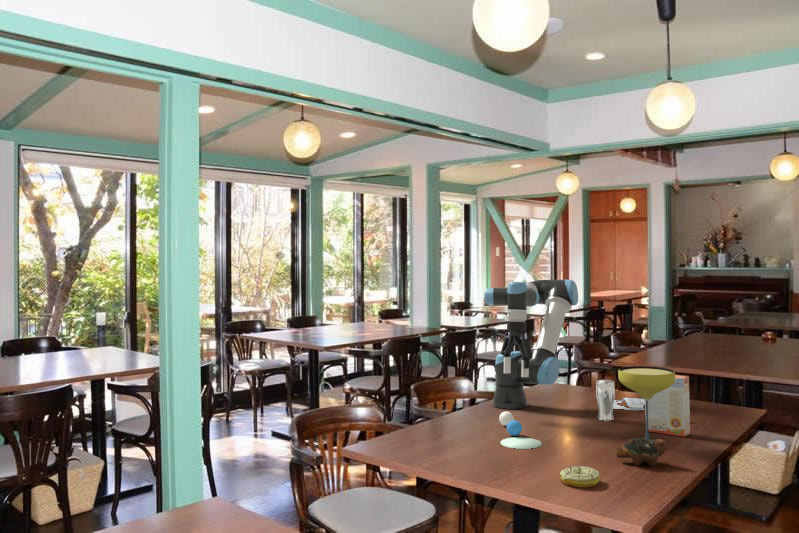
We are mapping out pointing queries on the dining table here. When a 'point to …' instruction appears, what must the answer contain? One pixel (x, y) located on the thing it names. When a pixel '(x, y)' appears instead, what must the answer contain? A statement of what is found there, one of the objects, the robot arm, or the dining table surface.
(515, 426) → the blue object ball
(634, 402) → the snack bag
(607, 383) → the beer glass
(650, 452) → the decorative turtle
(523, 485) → the dining table surface
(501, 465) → the dining table surface
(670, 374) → the cocktail glass
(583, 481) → the decorated donut
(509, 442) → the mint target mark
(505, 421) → the white cue ball
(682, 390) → the cracker box
